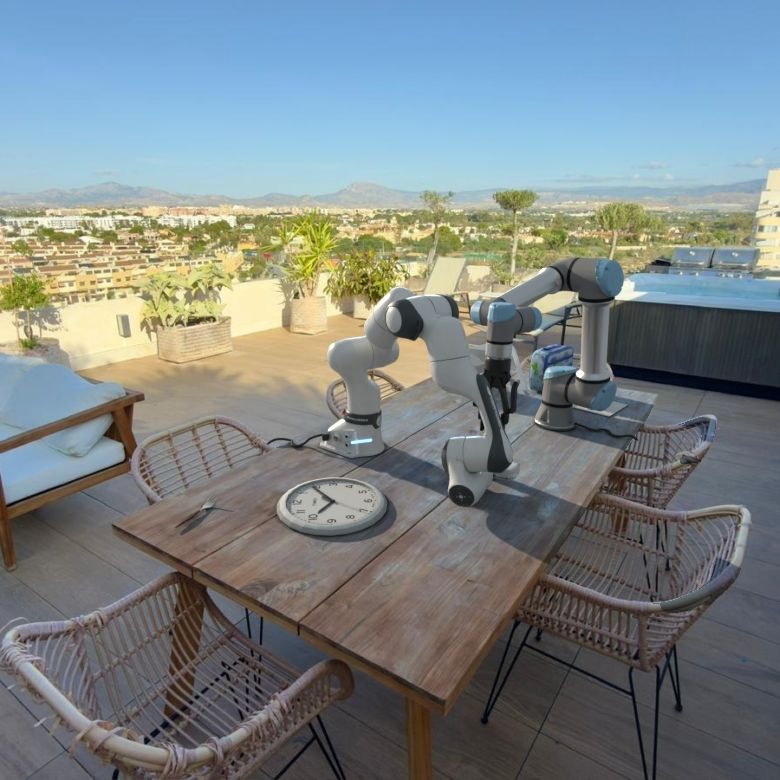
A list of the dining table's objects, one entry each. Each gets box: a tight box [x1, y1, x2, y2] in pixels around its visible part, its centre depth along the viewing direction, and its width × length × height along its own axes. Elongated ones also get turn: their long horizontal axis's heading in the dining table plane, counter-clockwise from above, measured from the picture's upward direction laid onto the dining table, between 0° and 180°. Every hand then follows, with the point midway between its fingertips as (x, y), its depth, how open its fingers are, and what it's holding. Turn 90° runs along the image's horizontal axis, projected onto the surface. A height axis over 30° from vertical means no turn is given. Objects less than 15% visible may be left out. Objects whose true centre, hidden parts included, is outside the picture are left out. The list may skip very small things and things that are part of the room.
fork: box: [174, 492, 220, 529], centre depth 137 cm, size 3×16×2 cm, turn 160°
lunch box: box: [528, 344, 574, 393], centre depth 247 cm, size 26×11×21 cm, turn 134°
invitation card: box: [573, 400, 629, 418], centre depth 226 cm, size 21×1×15 cm
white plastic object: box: [469, 343, 531, 397], centre depth 245 cm, size 37×45×31 cm
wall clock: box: [276, 476, 388, 537], centre depth 142 cm, size 30×2×30 cm
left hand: (490, 454), depth 161 cm, fingers closed on jar, 5 cm apart
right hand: (492, 431), depth 158 cm, fingers closed on lid, 5 cm apart
